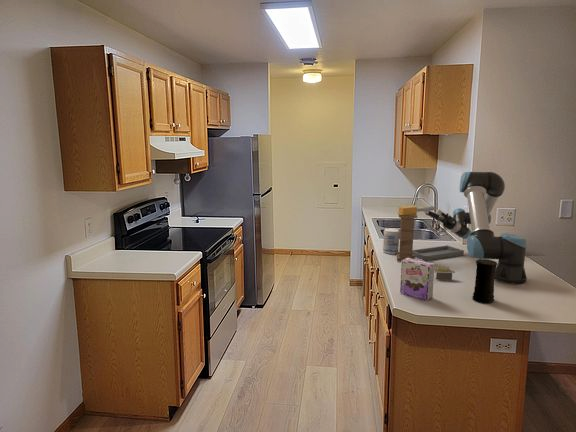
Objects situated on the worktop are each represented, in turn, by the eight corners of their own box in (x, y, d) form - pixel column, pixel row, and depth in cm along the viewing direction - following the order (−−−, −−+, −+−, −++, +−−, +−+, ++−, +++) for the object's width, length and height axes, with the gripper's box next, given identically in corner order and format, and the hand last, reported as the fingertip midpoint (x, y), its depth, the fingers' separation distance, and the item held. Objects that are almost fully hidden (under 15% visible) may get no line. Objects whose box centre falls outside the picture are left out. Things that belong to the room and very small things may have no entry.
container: (487, 296, 192) (491, 258, 188) (498, 303, 183) (501, 264, 180) (468, 296, 191) (471, 258, 188) (478, 304, 183) (481, 264, 179)
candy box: (399, 293, 196) (401, 259, 193) (405, 290, 200) (407, 257, 197) (426, 301, 186) (429, 265, 183) (433, 297, 190) (435, 263, 187)
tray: (425, 261, 246) (425, 256, 246) (409, 255, 259) (410, 250, 258) (463, 255, 258) (464, 250, 257) (446, 249, 270) (447, 245, 270)
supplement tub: (387, 255, 259) (388, 232, 256) (380, 251, 268) (381, 228, 265) (401, 253, 262) (402, 231, 259) (393, 249, 271) (394, 227, 268)
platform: (422, 275, 221) (423, 264, 220) (457, 276, 220) (458, 264, 219) (428, 283, 210) (429, 271, 208) (465, 284, 208) (466, 271, 207)
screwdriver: (402, 215, 240) (403, 208, 239) (398, 213, 244) (398, 207, 243) (435, 211, 249) (435, 205, 249) (430, 210, 253) (431, 204, 252)
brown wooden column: (414, 262, 243) (417, 215, 238) (397, 261, 245) (399, 215, 240) (413, 257, 253) (415, 212, 248) (396, 257, 255) (398, 212, 250)
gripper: (464, 233, 248) (441, 218, 239) (434, 225, 270) (412, 211, 262) (469, 222, 248) (447, 206, 239) (439, 215, 271) (418, 201, 262)
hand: (429, 209), depth 250 cm, fingers open, 13 cm apart
